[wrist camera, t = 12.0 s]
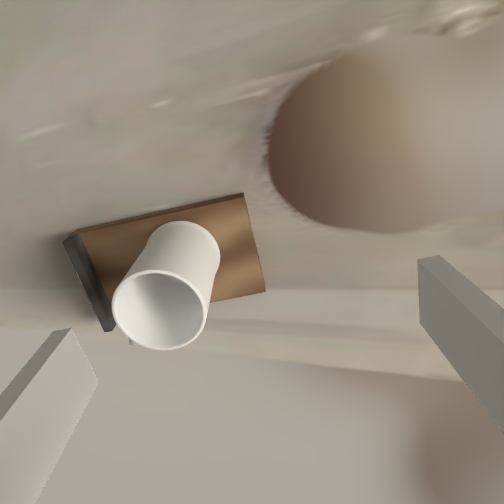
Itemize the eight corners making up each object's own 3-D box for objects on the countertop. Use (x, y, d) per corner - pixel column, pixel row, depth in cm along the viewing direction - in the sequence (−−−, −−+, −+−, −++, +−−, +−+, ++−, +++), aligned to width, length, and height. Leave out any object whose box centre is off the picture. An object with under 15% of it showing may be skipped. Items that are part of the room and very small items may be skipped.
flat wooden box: (76, 229, 42) (59, 242, 39) (243, 192, 41) (242, 202, 37) (113, 314, 47) (102, 332, 43) (264, 283, 45) (266, 300, 42)
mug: (174, 317, 45) (149, 389, 34) (116, 277, 43) (69, 340, 32) (235, 252, 41) (229, 308, 30) (175, 204, 39) (145, 247, 28)
